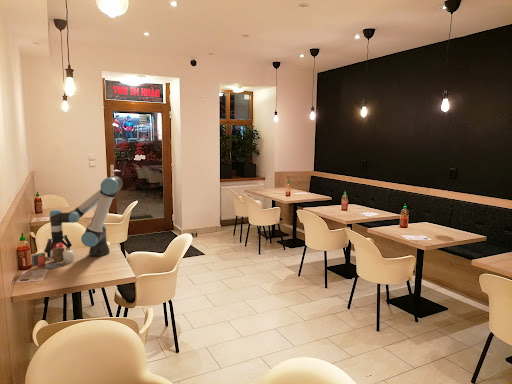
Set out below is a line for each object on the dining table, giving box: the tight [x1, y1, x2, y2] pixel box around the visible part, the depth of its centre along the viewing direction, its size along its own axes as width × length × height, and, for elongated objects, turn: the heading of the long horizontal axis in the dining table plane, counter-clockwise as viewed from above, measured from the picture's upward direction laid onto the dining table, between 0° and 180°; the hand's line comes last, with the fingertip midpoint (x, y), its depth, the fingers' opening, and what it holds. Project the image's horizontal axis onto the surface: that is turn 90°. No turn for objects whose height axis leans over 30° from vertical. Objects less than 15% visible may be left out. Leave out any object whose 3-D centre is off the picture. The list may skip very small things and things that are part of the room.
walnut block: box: [52, 247, 65, 263], centre depth 285 cm, size 6×6×9 cm
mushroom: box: [50, 242, 65, 257], centre depth 297 cm, size 11×11×12 cm
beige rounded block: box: [63, 249, 75, 264], centre depth 281 cm, size 7×7×8 cm
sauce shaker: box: [37, 253, 46, 268], centre depth 273 cm, size 4×4×9 cm
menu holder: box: [30, 252, 46, 266], centre depth 278 cm, size 8×3×7 cm, turn 150°
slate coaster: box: [41, 261, 67, 270], centre depth 273 cm, size 11×11×1 cm
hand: (59, 258), depth 286 cm, fingers open, 13 cm apart
